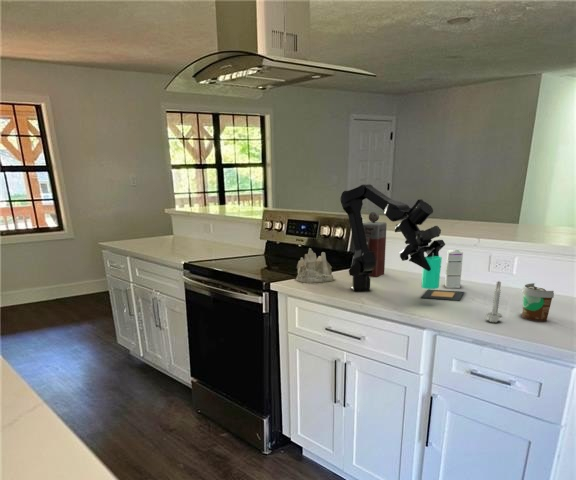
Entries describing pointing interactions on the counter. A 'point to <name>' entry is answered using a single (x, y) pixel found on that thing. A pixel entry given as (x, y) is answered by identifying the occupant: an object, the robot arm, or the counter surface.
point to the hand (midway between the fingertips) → (434, 269)
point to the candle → (432, 273)
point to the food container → (536, 302)
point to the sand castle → (314, 268)
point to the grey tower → (453, 268)
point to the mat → (443, 295)
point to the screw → (495, 305)
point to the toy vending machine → (376, 242)
